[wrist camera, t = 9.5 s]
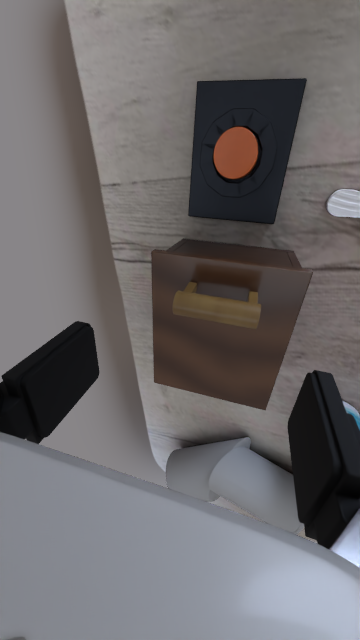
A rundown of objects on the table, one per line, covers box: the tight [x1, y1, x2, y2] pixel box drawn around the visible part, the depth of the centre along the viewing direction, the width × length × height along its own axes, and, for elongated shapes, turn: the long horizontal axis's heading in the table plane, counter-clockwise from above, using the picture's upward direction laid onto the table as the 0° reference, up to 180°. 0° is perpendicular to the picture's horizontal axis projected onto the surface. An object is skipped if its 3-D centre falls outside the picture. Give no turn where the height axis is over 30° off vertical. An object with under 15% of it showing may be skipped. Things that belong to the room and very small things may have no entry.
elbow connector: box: [166, 437, 304, 534], centre depth 42 cm, size 18×10×20 cm
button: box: [213, 127, 258, 179], centre depth 21 cm, size 4×4×2 cm
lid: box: [151, 249, 313, 410], centre depth 22 cm, size 15×13×5 cm
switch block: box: [189, 78, 307, 224], centre depth 23 cm, size 11×9×4 cm
